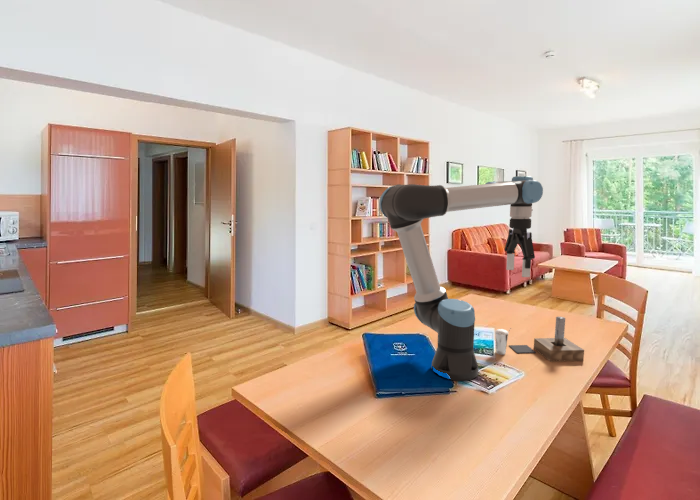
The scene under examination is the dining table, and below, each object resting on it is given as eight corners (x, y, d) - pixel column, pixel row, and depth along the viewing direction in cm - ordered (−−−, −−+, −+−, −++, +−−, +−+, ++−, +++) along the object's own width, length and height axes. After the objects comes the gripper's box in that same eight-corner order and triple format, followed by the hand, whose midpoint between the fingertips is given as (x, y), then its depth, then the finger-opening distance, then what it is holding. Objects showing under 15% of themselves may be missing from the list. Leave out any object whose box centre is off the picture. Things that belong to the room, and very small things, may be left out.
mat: (517, 353, 148) (517, 352, 148) (509, 346, 155) (509, 345, 155) (535, 353, 148) (535, 352, 148) (526, 345, 155) (526, 344, 155)
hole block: (550, 361, 140) (550, 350, 140) (533, 348, 152) (534, 338, 152) (583, 360, 141) (584, 349, 140) (564, 347, 153) (565, 337, 152)
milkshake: (510, 356, 145) (512, 329, 144) (495, 355, 146) (496, 329, 145) (508, 351, 150) (509, 325, 148) (493, 350, 151) (494, 325, 149)
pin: (556, 356, 145) (558, 319, 143) (552, 352, 148) (554, 316, 146) (564, 355, 145) (567, 319, 143) (559, 352, 148) (562, 316, 146)
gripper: (547, 219, 137) (543, 280, 140) (515, 216, 162) (513, 267, 165) (526, 220, 137) (522, 280, 140) (497, 216, 161) (495, 267, 164)
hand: (517, 273), depth 152 cm, fingers open, 13 cm apart
